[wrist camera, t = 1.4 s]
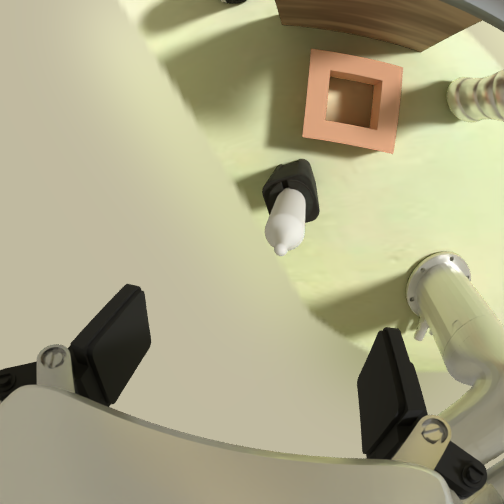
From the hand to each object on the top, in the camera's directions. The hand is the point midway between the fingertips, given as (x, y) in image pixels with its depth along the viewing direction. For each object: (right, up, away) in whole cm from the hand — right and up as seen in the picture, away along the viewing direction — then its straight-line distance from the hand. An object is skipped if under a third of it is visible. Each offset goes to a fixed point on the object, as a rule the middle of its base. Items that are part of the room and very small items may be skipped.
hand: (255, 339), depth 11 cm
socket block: (+13, +23, +24) cm, 36 cm away
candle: (+6, +14, +30) cm, 34 cm away
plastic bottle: (+30, +25, +20) cm, 44 cm away
